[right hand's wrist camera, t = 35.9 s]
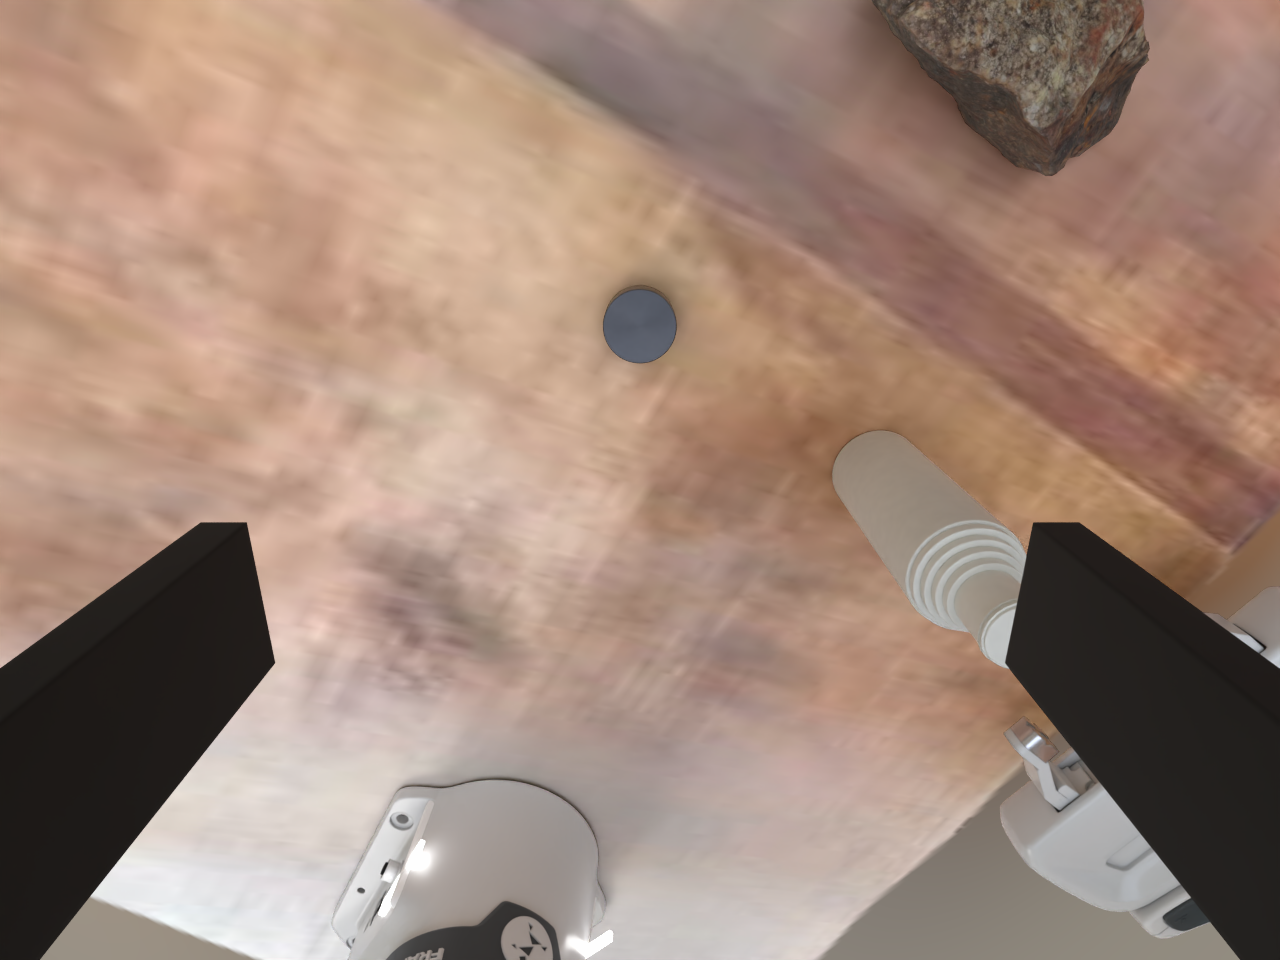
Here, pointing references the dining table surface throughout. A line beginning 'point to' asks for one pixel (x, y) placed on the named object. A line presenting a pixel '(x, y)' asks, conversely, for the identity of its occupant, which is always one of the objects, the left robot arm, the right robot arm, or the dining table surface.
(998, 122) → the rock
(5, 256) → the dining table surface
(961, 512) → the bottle
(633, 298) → the cap
